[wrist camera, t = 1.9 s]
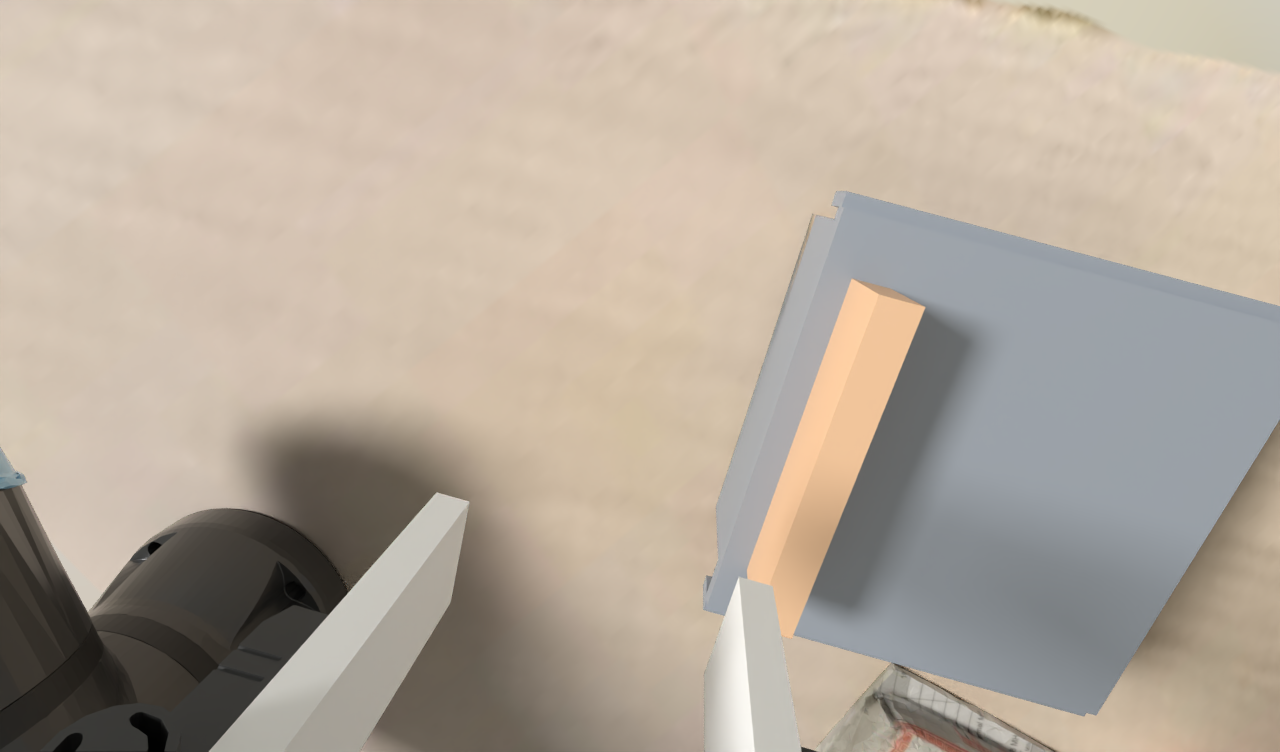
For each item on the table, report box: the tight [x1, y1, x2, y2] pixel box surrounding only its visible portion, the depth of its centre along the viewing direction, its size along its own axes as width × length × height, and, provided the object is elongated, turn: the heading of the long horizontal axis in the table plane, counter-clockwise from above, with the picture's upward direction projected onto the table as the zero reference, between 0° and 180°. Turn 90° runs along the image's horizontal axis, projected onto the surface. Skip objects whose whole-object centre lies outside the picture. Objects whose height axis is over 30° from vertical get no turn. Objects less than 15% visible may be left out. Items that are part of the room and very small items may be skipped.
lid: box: [703, 191, 1280, 716], centre depth 26 cm, size 19×20×6 cm
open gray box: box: [716, 214, 834, 559], centre depth 31 cm, size 18×18×8 cm
